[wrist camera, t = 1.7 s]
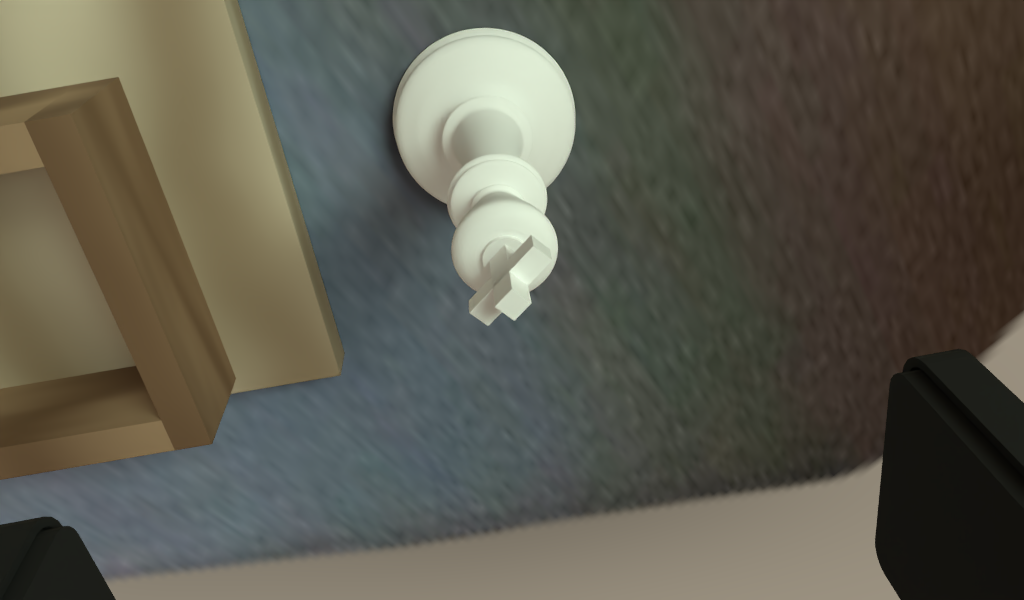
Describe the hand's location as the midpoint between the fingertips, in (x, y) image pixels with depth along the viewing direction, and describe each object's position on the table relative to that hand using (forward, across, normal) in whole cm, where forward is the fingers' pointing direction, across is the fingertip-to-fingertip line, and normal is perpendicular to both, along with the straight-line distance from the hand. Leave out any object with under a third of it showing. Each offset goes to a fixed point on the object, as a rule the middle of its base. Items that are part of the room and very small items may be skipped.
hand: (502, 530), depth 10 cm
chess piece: (+15, -1, 0) cm, 15 cm away
